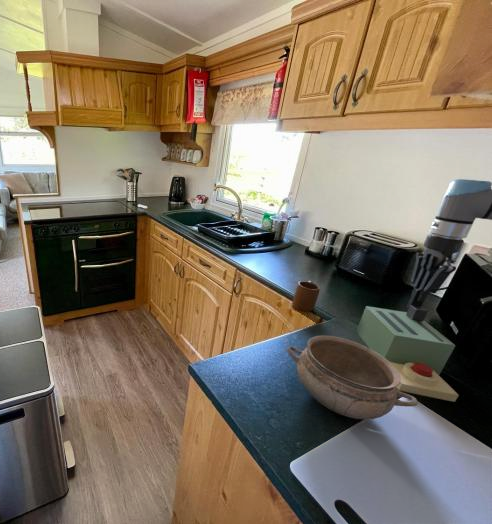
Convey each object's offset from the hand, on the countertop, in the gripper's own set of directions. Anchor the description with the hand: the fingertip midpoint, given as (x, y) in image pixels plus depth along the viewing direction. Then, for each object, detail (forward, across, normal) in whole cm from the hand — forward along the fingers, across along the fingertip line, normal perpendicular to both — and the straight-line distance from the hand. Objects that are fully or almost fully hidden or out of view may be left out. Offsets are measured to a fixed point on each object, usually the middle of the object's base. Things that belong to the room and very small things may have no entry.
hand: (412, 308), depth 90 cm
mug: (+12, -16, -25) cm, 32 cm away
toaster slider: (+2, +2, 0) cm, 3 cm away
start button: (+9, +21, -6) cm, 24 cm away
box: (+12, +21, -6) cm, 25 cm away
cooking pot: (+12, +35, -30) cm, 48 cm away
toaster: (+12, +7, -4) cm, 15 cm away
